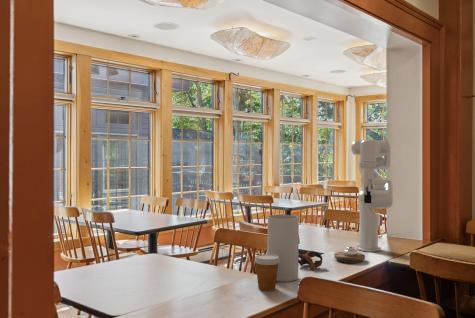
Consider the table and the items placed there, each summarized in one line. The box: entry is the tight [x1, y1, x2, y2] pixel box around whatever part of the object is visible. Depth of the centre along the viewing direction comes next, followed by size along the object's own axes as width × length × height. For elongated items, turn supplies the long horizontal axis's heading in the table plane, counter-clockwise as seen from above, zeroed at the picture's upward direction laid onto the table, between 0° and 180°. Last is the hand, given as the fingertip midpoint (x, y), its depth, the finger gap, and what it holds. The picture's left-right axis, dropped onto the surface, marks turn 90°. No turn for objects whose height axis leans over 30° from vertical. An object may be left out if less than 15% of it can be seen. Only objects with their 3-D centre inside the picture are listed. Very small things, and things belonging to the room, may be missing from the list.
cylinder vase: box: [266, 214, 300, 283], centre depth 187 cm, size 12×12×25 cm
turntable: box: [334, 251, 366, 264], centre depth 219 cm, size 14×14×3 cm
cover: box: [343, 246, 358, 257], centre depth 218 cm, size 6×6×4 cm
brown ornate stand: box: [298, 250, 323, 271], centre depth 205 cm, size 12×10×8 cm
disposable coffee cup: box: [253, 253, 280, 292], centre depth 173 cm, size 10×10×12 cm
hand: (367, 202), depth 225 cm, fingers closed
